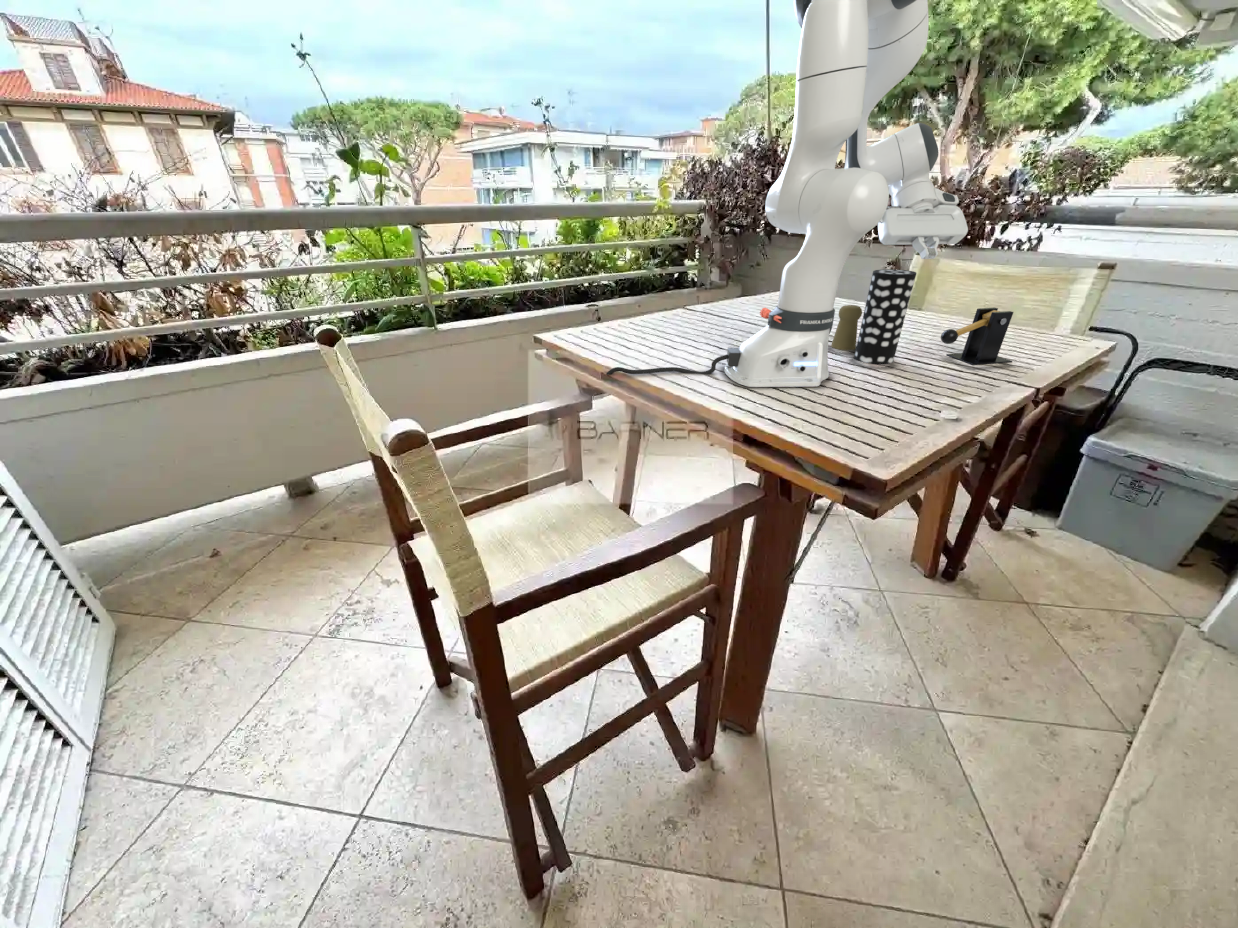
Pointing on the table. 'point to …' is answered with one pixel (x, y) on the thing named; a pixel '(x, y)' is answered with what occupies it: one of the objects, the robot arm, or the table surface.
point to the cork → (847, 328)
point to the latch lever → (964, 329)
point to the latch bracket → (986, 339)
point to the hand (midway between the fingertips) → (929, 257)
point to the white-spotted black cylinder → (884, 315)
